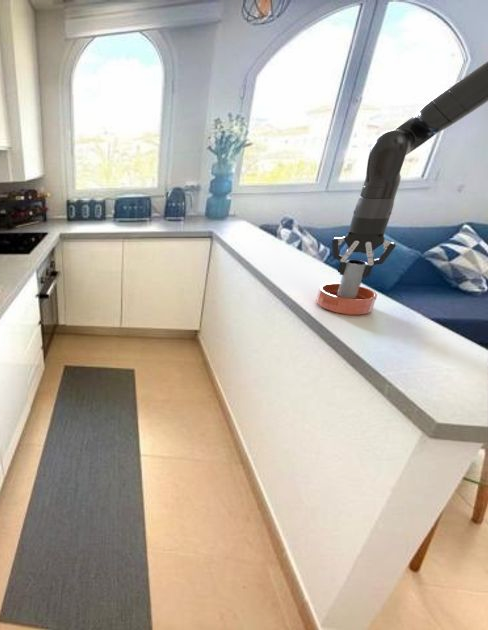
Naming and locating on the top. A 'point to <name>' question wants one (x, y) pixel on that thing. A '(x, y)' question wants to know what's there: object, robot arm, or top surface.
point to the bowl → (346, 300)
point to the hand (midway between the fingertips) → (352, 275)
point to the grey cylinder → (351, 278)
